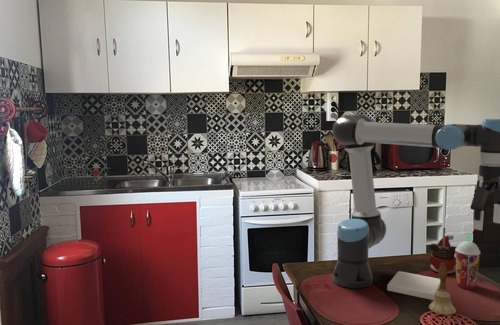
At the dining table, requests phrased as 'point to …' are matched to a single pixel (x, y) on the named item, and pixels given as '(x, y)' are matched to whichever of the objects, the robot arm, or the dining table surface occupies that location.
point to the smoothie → (467, 264)
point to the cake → (443, 254)
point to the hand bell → (442, 296)
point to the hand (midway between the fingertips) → (487, 226)
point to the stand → (414, 285)
